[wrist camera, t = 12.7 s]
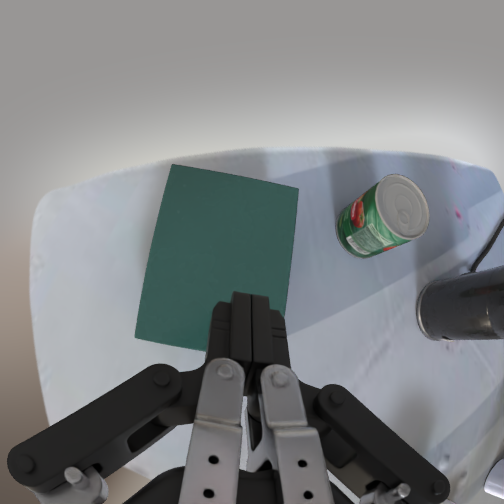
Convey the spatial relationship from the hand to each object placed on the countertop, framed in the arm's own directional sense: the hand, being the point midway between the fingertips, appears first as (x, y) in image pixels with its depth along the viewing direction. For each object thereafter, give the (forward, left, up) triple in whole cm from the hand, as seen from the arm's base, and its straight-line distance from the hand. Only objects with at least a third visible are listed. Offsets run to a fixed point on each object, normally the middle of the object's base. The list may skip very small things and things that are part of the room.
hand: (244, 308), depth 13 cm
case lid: (-2, -4, -14) cm, 15 cm away
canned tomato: (-23, -1, -24) cm, 33 cm away
